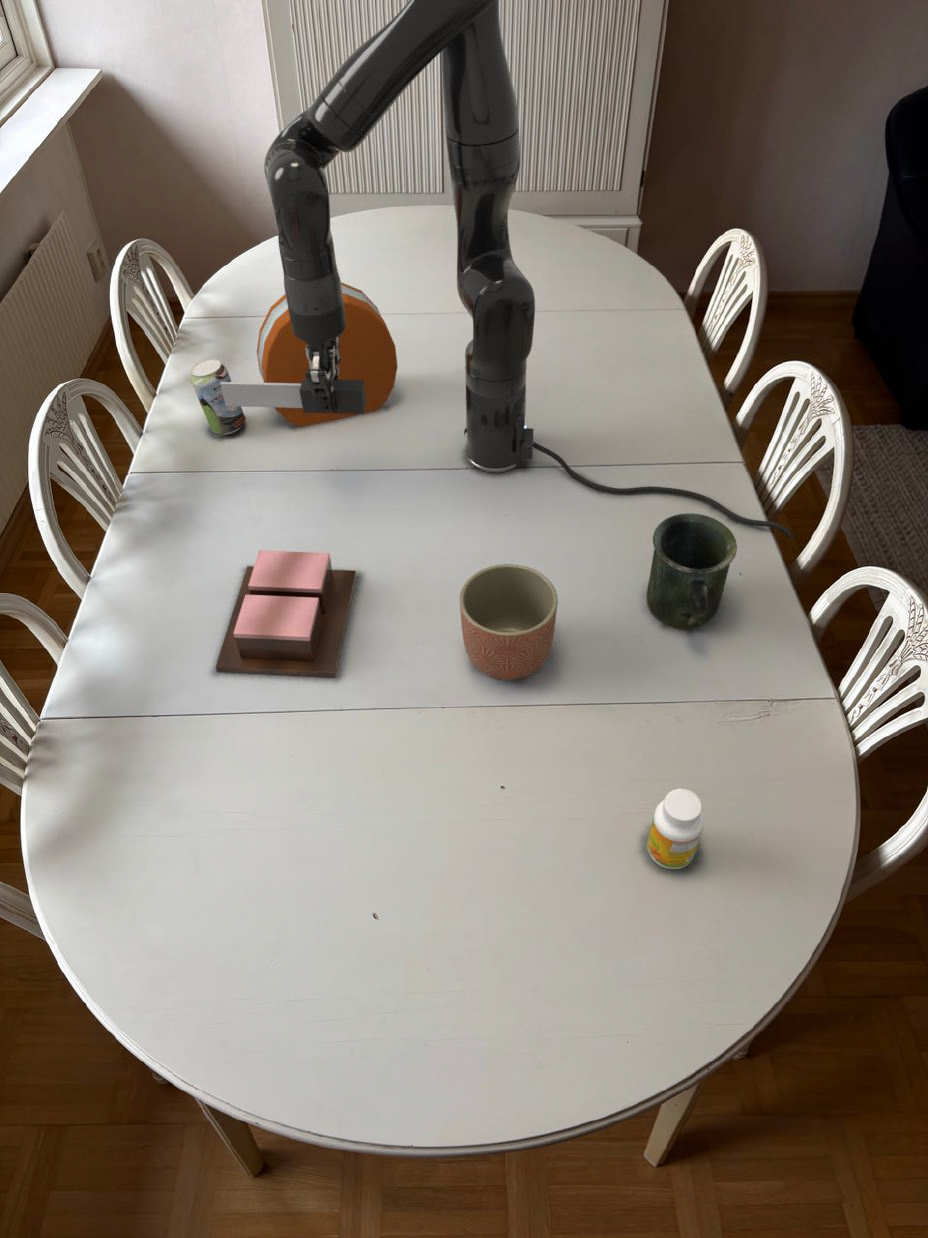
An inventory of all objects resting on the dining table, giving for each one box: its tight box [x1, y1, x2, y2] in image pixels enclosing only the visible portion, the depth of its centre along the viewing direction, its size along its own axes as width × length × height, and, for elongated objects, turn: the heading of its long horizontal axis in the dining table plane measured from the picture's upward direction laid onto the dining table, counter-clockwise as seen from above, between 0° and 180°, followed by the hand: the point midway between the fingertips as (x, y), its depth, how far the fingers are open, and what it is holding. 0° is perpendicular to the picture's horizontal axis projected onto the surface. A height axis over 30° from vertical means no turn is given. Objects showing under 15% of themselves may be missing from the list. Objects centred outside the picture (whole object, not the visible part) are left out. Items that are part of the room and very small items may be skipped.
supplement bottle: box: [646, 788, 705, 870], centre depth 110 cm, size 5×5×10 cm
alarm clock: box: [256, 281, 398, 427], centre depth 164 cm, size 22×10×23 cm, turn 108°
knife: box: [220, 379, 367, 415], centre depth 146 cm, size 21×3×4 cm, turn 85°
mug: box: [645, 512, 738, 630], centre depth 134 cm, size 11×15×12 cm
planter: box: [459, 563, 559, 681], centre depth 130 cm, size 12×12×11 cm
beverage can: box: [190, 358, 246, 436], centre depth 164 cm, size 6×7×12 cm
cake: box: [215, 549, 358, 678], centre depth 136 cm, size 16×19×6 cm
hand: (331, 403), depth 147 cm, fingers closed on knife, 3 cm apart
